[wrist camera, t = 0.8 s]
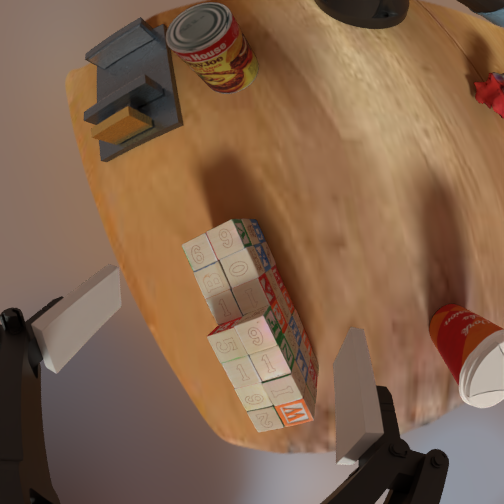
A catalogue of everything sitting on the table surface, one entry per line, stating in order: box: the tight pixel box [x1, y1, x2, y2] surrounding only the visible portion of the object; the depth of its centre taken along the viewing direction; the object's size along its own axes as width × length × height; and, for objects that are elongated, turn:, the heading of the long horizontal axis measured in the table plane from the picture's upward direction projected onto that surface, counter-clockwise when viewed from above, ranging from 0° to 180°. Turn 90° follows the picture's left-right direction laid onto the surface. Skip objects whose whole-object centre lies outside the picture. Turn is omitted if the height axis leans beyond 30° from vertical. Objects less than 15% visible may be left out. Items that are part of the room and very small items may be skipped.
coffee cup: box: [429, 304, 504, 408], centre depth 23 cm, size 8×8×15 cm
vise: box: [85, 17, 183, 162], centre depth 36 cm, size 22×15×6 cm
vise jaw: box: [84, 74, 163, 145], centre depth 34 cm, size 6×12×6 cm, turn 104°
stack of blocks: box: [182, 219, 319, 432], centre depth 31 cm, size 21×6×12 cm, turn 25°
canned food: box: [166, 2, 259, 94], centre depth 29 cm, size 8×8×12 cm
